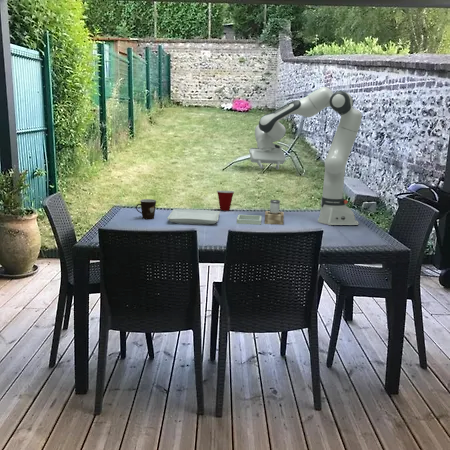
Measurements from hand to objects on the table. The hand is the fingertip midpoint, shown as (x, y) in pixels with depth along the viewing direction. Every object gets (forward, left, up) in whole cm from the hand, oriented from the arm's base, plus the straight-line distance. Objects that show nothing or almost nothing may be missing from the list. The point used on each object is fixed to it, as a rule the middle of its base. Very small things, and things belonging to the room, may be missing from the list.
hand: (269, 168), depth 284 cm
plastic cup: (+26, -21, -29) cm, 44 cm away
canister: (-4, +11, -28) cm, 31 cm away
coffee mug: (+67, +14, -29) cm, 75 cm away
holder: (-4, +11, -29) cm, 31 cm away
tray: (+10, +13, -29) cm, 33 cm away
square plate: (+40, +11, -30) cm, 51 cm away
